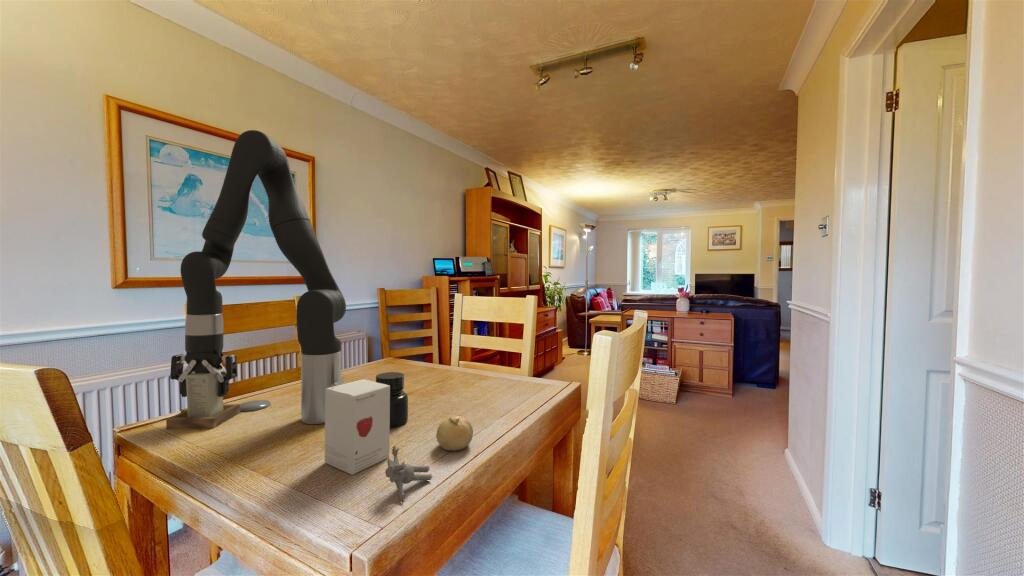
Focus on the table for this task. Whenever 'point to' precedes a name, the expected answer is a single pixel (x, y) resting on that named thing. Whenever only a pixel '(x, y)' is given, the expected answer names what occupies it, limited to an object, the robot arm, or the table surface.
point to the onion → (454, 433)
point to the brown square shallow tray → (202, 419)
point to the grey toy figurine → (404, 473)
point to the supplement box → (357, 425)
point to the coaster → (254, 405)
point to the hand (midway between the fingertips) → (204, 396)
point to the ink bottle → (395, 397)
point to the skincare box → (203, 395)
